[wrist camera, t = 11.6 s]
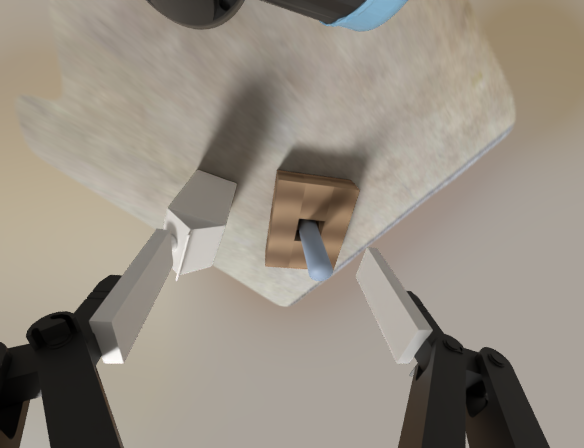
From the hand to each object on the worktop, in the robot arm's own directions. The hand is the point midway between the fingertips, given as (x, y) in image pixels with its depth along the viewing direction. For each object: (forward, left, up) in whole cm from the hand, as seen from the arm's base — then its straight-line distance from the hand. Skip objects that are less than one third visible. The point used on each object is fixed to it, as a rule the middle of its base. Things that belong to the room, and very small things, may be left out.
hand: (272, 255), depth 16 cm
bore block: (+12, +9, -29) cm, 32 cm away
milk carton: (+9, -9, -29) cm, 32 cm away
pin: (+12, +9, -28) cm, 31 cm away
